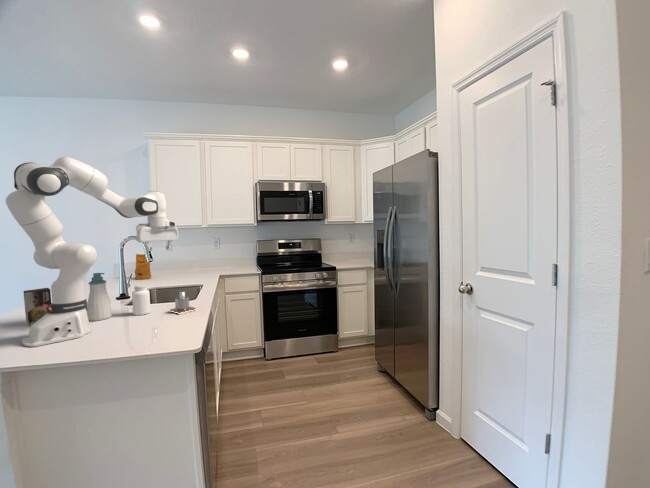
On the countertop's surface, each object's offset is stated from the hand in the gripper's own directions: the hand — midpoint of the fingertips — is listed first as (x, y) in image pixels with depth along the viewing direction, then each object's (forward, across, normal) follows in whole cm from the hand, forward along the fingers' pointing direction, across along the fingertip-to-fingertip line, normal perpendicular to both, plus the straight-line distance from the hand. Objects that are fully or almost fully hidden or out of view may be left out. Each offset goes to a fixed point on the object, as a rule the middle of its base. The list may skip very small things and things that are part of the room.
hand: (159, 250), depth 164 cm
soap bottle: (+33, -22, +18) cm, 44 cm away
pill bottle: (+33, -6, +9) cm, 35 cm away
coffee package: (+33, +49, +128) cm, 141 cm away
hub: (+31, +8, -6) cm, 32 cm away
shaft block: (+33, +8, -6) cm, 35 cm away
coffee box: (+33, -41, +36) cm, 64 cm away
